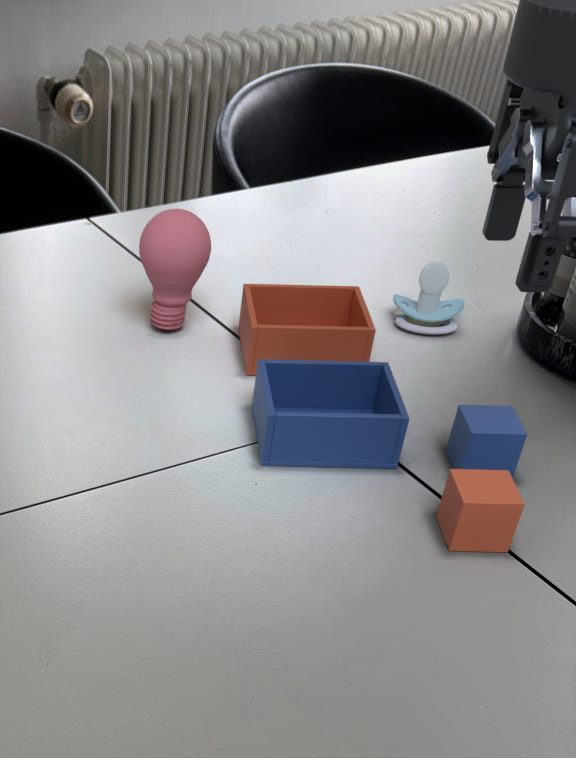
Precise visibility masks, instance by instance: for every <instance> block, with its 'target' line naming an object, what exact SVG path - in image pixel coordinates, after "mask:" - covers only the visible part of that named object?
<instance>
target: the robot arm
mask: <svg viewBox="0 0 576 758" xmlns="http://www.w3.org/2000/svg"><path fill="white" fill-rule="evenodd" d="M504 58H505V59H504V63H503V73H504V75H505V78H506V81H505V87H504V90H503V94H502V98H501V101H500V105H499V110H498V113H497V115H496V121H495V124H494V128H493V132H492V135H491V139H490V140H491V141H490V143H489V147H488V151H487V153H486V159H487V164H488V165H493V167H492V170H491V175H490V176H491V182H493V183H495V184H493V187H492V191H491V195H490V199H489V203H488V207H487V211H486V215H485V219H484V223H483V227H482V230H481V231H482V235H483V237H484V238H485V240H486V241H490V242H491V241H492V242H508V241H509V242H510V241H512V240H513V239H515V236H516V234H517V232H518V227H519V224H520V220H521V216H522V213H523V210H524V207H525V203H526V202H525V201H526V199H527V200H528V201H530V202H531V213H530V214H531V215H530V218H531V219H530V231H529V232H528V236H527V239H526V243H525V247H524V250H523V253H522V257H521V260H520V264H519V267H518V270H517V274H516V278H515V282H514V283H515V286H516V287H517V289H518V290H519V291H520V292H521V293H546V292H548V291H549V290H550V289H552V287H553V285H554V281H555V277H556V274H557V271H558V268H559V264H560V261H561V258H562V255H563V252H564V248H565V245H566V242H567V239H568V238H576V0H519V1H518V5H517V9H516V14H515V18H514V21H513V25H512V29H511V33H510V38H509V42H508V46H507V51H506V55H505V57H504Z"/></svg>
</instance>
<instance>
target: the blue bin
mask: <svg viewBox="0 0 576 758" xmlns="http://www.w3.org/2000/svg"><path fill="white" fill-rule="evenodd" d="M252 394H253V395H252V402H251V403H252V404H251V413H252V418H253V425H254V430H255V437H256V442H257V449H258V453H259V460H260V465H261V466H262V467H263V466H265V467H269V466H270V467H305V468H306V467H307V468H343V469H344V468H345V469H346V468H349V469H388V470H389V469H390V470H395V469H396V470H397V469H398V466H399V464H400V463H399V462H400V458H401V455H402V450H403V446H404V442H405V439H406V434H407V430H408V426H409V421H410V415H409V413H408V410H407V408H406V406H405V402H404V400H403V398H402V395H401V393H400V390H399V387H398V385H397V382H396V379H395V377H394V374H393V371H392V369H391V366H390V363H389V361H369V362H356V361H312V360H269V359H265V360H264V359H258V363H257V371H256V375H255V378H254V388H253V393H252Z"/></svg>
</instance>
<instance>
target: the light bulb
mask: <svg viewBox="0 0 576 758" xmlns="http://www.w3.org/2000/svg"><path fill="white" fill-rule="evenodd" d="M139 238H140V239H139V243H138V244H139V245H138V253H139V258H140V261H141V265H142V267H143V269H144V272H145V274H146V276H147V278H148V280H149V282H150V284H151V287H152V292H151V296H152V299H153V301H152V302H151V304H150V313H149V316H150V317H149V318H150V323H151V324H152V325H153V326H154V327H156V328H158V329H162V330H169V331H170V330H177V329H180V328H181V327H182V326H183V325H184V323H185V316H186V314H187V304H188V303H190V301H191V299H192V297H193V293H192V291H193V289H194V287H195V286H196V284H197V283H198V281H199V279H200V278H201V276H202V274H203V273H204V271H205V269H206V267H207V265H208V263H209V262H210V258H211V253H212V240H211V234H210V231H209V229H208V228H207V226H206V224H205V223H204V221H203V219H201V218H200V217H199V216H198V215H196V213H194V212H192V211H190V210H187V209H184V208H170V209H166V210H162V211H160V212H159V213H157V214H155V215H154V216H153V217H152V218H151V219H149V220H148V221H147V223H146V225H145V226H144V228H143V230H142V232H141V234H140V237H139Z"/></svg>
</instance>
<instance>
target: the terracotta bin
mask: <svg viewBox="0 0 576 758" xmlns="http://www.w3.org/2000/svg"><path fill="white" fill-rule="evenodd" d="M237 330H238V336H239V340H240V342H239V343H240V348H241V354H242V360H243V366H244V371H245V375H246V376H256V371H257V363H258V359H264V360H265V359H269V360H312V361H356V362H370V360H371V355H372V350H373V345H374V340H375V336H376V331H377V329H376V327H375V324H374V322H373V319H372V317H371V314H370V311H369V309H368V306H367V304H366V301H365V299H364V295H363V293H362V290H361V287H360V285H359V286H358V285H357V286H356V285H322V284H321V285H319V284H317V285H315V284H278V283H277V284H276V283H272V284H271V283H243V286H242V293H241V302H240V312H239V320H238V329H237Z"/></svg>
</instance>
